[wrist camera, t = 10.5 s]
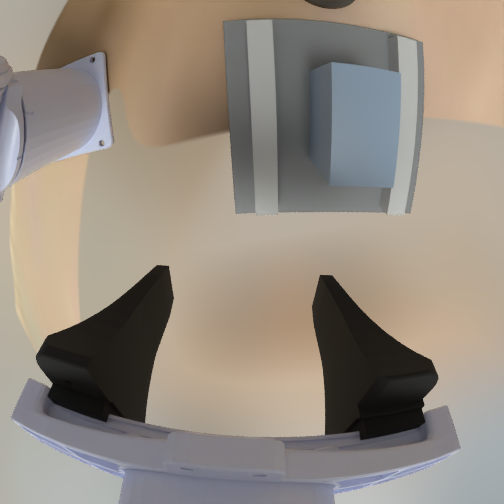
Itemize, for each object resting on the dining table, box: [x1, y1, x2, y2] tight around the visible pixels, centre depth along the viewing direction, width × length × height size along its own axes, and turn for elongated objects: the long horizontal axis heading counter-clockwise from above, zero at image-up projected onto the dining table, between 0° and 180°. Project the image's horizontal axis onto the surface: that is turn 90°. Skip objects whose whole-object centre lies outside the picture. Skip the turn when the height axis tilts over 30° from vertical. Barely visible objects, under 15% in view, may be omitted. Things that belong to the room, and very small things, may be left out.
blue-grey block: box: [309, 62, 401, 188], centre depth 13 cm, size 4×6×6 cm, turn 3°
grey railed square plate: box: [223, 19, 424, 215], centre depth 16 cm, size 14×14×2 cm
